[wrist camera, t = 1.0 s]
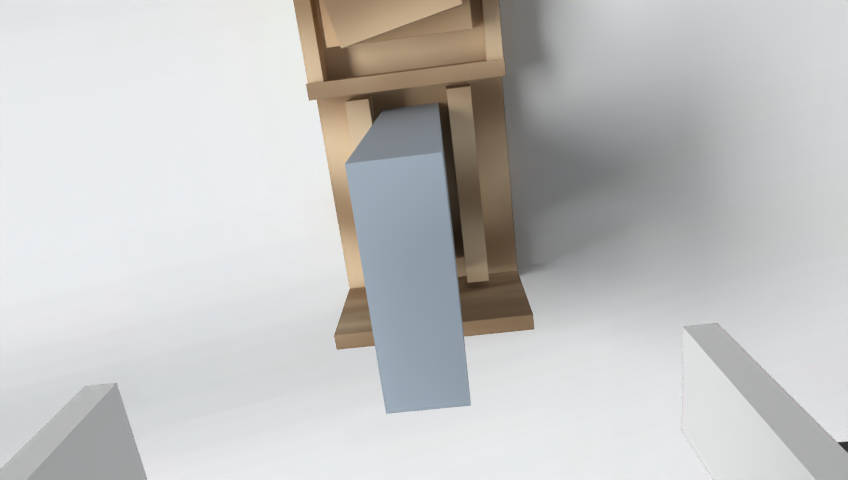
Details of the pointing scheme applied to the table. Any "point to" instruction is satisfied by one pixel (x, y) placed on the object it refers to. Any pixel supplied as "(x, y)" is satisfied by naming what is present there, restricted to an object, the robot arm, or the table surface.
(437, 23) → the oak offcut low
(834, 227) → the table surface
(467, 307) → the oak rack
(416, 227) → the grey panel
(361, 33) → the oak offcut top
